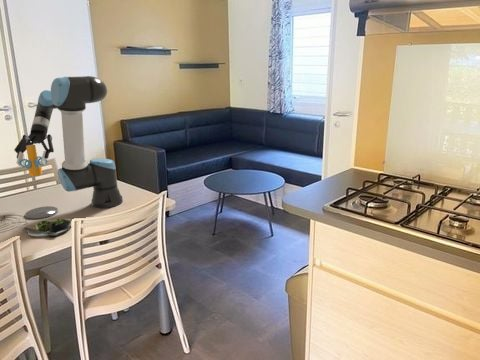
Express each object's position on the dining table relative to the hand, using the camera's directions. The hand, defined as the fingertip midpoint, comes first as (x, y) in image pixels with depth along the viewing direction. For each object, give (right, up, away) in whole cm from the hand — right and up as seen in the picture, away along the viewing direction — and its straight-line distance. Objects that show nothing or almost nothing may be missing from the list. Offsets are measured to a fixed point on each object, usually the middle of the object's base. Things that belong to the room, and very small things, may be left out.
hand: (30, 164), depth 188 cm
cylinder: (0, -5, +5) cm, 7 cm away
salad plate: (+21, -30, -20) cm, 42 cm away
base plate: (+7, -24, -3) cm, 25 cm away
